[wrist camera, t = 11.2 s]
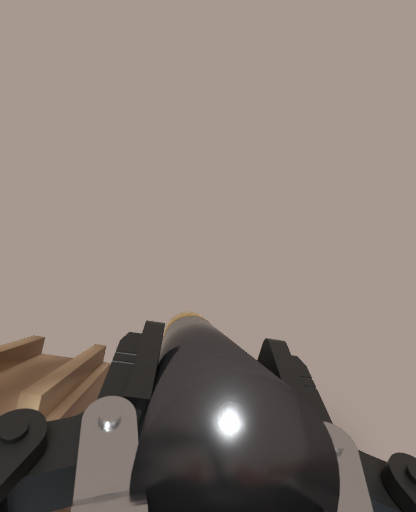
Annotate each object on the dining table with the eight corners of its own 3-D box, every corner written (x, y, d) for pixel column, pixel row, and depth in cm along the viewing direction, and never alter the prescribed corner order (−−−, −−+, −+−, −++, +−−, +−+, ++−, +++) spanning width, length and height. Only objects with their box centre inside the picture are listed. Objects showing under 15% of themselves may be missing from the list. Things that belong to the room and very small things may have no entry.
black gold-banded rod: (331, 615, 5) (349, 385, 6) (107, 602, 5) (149, 358, 6) (204, 358, 28) (211, 314, 29) (161, 352, 28) (168, 307, 28)
